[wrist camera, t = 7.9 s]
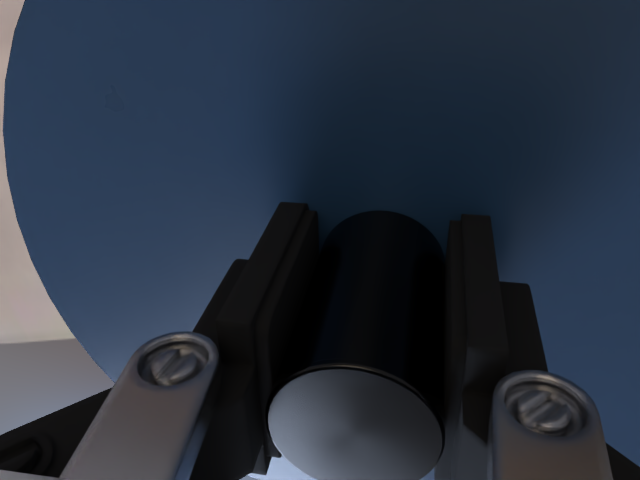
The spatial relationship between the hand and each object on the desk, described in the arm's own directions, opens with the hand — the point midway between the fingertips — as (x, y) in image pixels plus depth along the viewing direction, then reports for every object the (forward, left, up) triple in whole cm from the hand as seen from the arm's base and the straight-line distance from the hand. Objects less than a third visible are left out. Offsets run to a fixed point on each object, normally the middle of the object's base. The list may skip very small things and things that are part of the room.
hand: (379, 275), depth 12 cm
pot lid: (0, 0, -1) cm, 1 cm away
